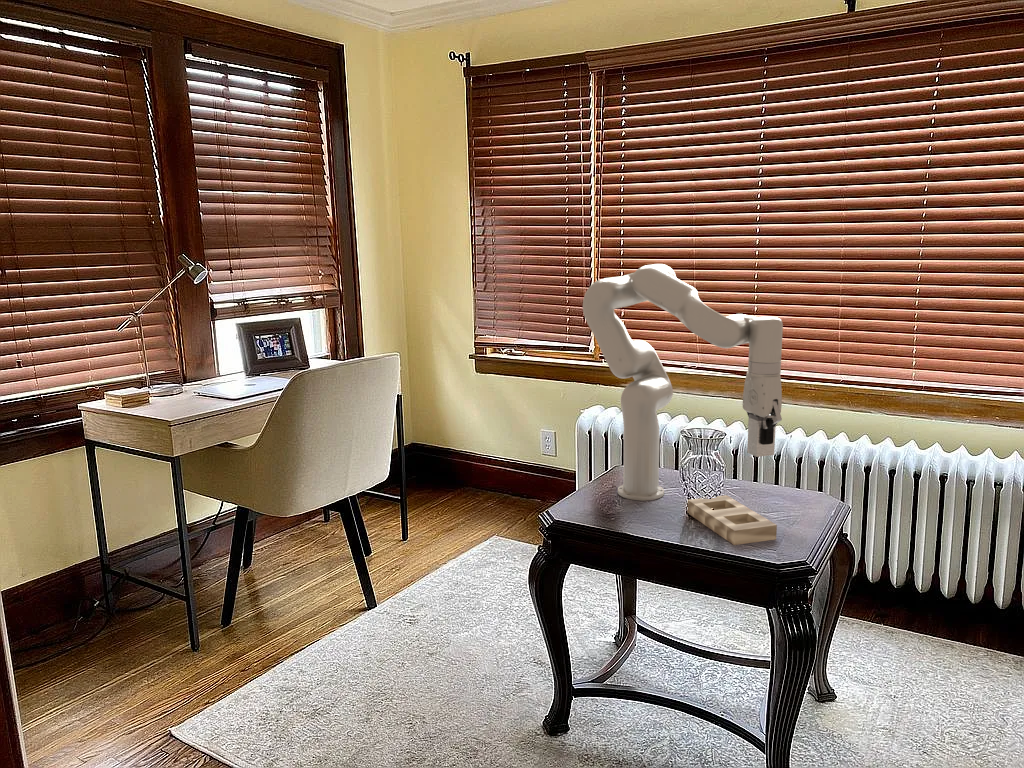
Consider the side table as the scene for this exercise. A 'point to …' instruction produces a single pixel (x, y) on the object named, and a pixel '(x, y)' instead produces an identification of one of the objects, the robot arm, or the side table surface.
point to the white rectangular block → (758, 438)
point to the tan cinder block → (732, 520)
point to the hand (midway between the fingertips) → (761, 440)
